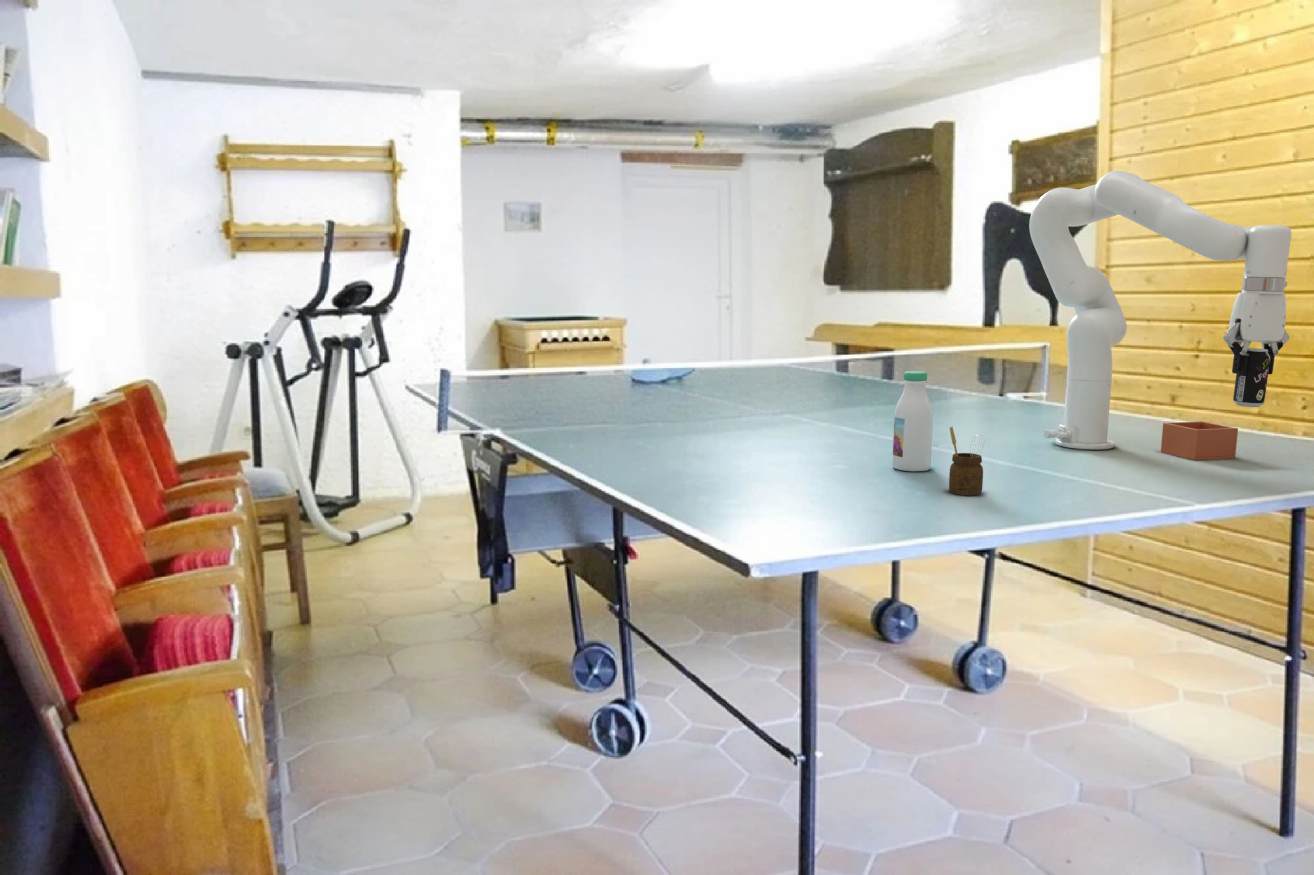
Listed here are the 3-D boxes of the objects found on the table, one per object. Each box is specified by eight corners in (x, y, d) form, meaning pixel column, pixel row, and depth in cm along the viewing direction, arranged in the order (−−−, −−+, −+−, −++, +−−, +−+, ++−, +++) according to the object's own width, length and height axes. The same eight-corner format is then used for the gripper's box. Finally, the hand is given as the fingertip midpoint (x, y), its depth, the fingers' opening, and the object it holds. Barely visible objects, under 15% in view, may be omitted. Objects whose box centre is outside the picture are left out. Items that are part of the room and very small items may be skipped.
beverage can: (1264, 405, 214) (1271, 348, 212) (1263, 408, 209) (1270, 350, 207) (1233, 402, 217) (1240, 346, 215) (1231, 406, 212) (1238, 348, 210)
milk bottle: (933, 466, 211) (938, 371, 208) (926, 473, 204) (931, 374, 201) (896, 463, 214) (900, 369, 211) (888, 470, 207) (892, 372, 204)
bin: (1194, 460, 218) (1197, 430, 217) (1160, 451, 228) (1163, 422, 227) (1235, 458, 220) (1238, 428, 219) (1200, 449, 230) (1202, 421, 229)
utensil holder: (977, 497, 183) (981, 431, 181) (942, 493, 186) (945, 428, 184) (986, 491, 188) (989, 427, 186) (952, 487, 191) (955, 424, 189)
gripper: (1283, 286, 214) (1272, 371, 217) (1213, 285, 210) (1203, 371, 213) (1313, 287, 207) (1301, 375, 210) (1241, 286, 203) (1230, 376, 206)
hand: (1252, 372), depth 212 cm, fingers closed on beverage can, 5 cm apart
